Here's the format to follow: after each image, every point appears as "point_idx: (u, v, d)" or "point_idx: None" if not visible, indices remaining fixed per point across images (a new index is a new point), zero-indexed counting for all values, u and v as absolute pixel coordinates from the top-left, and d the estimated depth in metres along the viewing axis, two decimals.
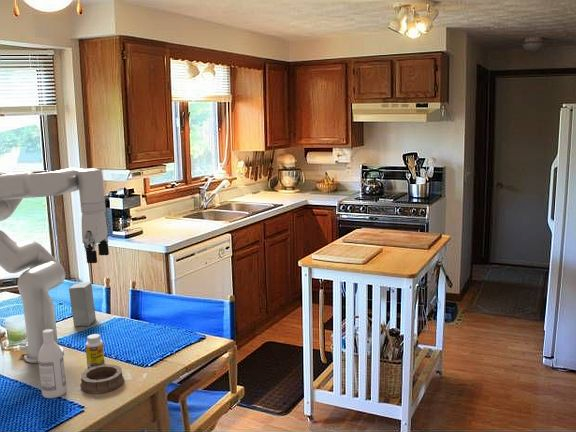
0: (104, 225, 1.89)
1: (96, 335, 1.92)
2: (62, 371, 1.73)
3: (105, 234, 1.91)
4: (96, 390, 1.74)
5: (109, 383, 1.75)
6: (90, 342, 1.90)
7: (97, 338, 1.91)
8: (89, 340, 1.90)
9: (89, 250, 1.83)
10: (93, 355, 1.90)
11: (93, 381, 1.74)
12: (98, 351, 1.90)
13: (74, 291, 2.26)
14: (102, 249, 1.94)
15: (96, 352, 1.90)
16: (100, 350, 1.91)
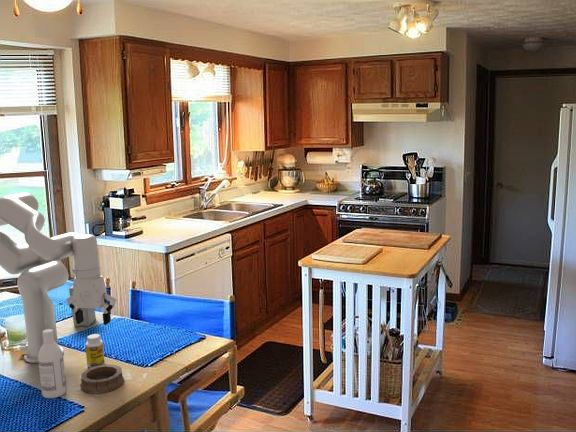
0: None
1: (96, 335, 1.92)
2: (62, 371, 1.73)
3: None
4: (96, 390, 1.74)
5: (109, 383, 1.75)
6: (90, 342, 1.90)
7: (97, 338, 1.91)
8: (89, 340, 1.90)
9: (109, 310, 1.88)
10: (93, 355, 1.90)
11: (93, 381, 1.74)
12: (98, 351, 1.90)
13: None
14: (80, 317, 1.91)
15: (96, 352, 1.90)
16: (100, 350, 1.91)
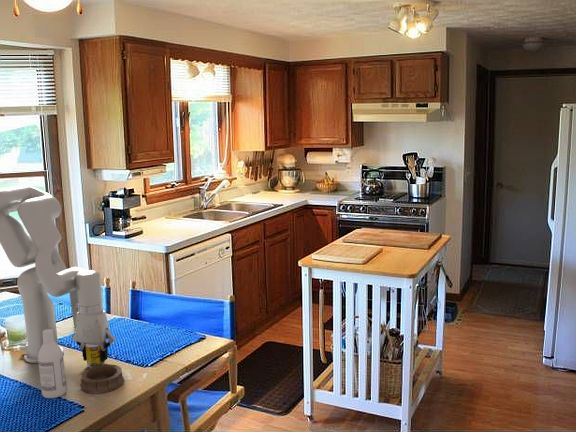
0: None
1: None
2: (62, 371, 1.73)
3: None
4: (96, 390, 1.74)
5: (109, 383, 1.75)
6: None
7: None
8: None
9: (107, 347, 1.91)
10: (93, 355, 1.90)
11: (93, 381, 1.74)
12: (98, 351, 1.90)
13: (74, 291, 2.26)
14: None
15: (96, 352, 1.90)
16: (100, 350, 1.91)
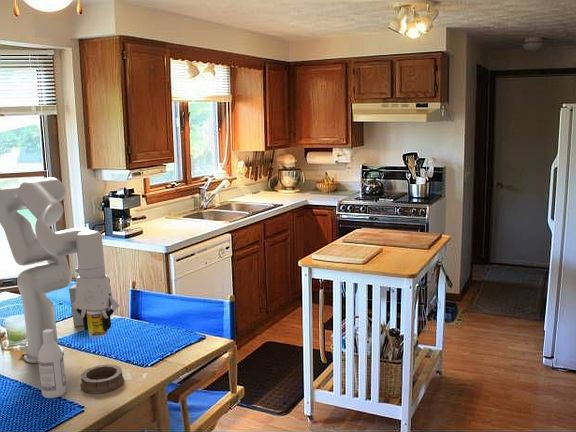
0: None
1: None
2: (62, 371, 1.73)
3: None
4: (96, 390, 1.74)
5: (109, 383, 1.75)
6: None
7: None
8: None
9: (110, 315, 1.76)
10: (96, 323, 1.74)
11: (93, 381, 1.74)
12: (101, 319, 1.75)
13: (74, 291, 2.26)
14: None
15: (98, 320, 1.75)
16: (102, 318, 1.75)
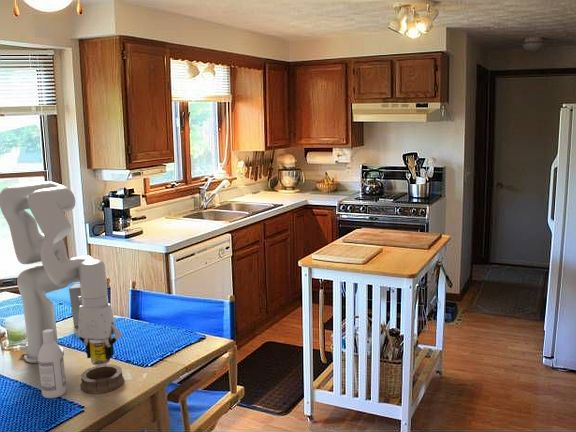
0: None
1: None
2: (62, 371, 1.73)
3: None
4: (96, 390, 1.74)
5: (109, 383, 1.75)
6: None
7: None
8: None
9: None
10: (98, 352, 1.75)
11: (93, 381, 1.74)
12: (103, 347, 1.76)
13: (74, 291, 2.26)
14: None
15: (101, 349, 1.75)
16: (105, 346, 1.76)
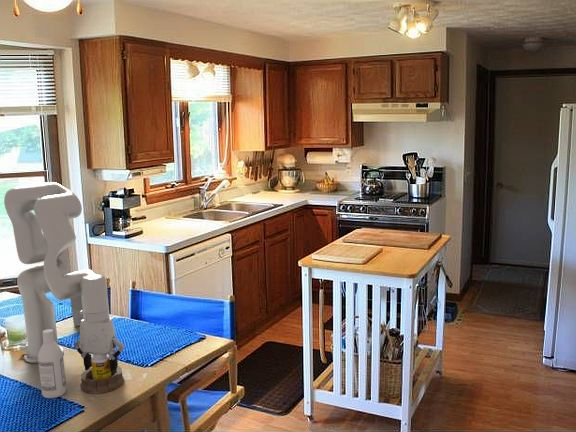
0: None
1: None
2: (62, 371, 1.73)
3: None
4: (96, 390, 1.74)
5: (109, 383, 1.75)
6: (96, 357, 1.77)
7: None
8: (95, 355, 1.77)
9: (117, 356, 1.77)
10: (100, 371, 1.77)
11: (93, 381, 1.74)
12: (105, 367, 1.77)
13: None
14: (88, 362, 1.79)
15: (103, 369, 1.77)
16: (107, 366, 1.77)
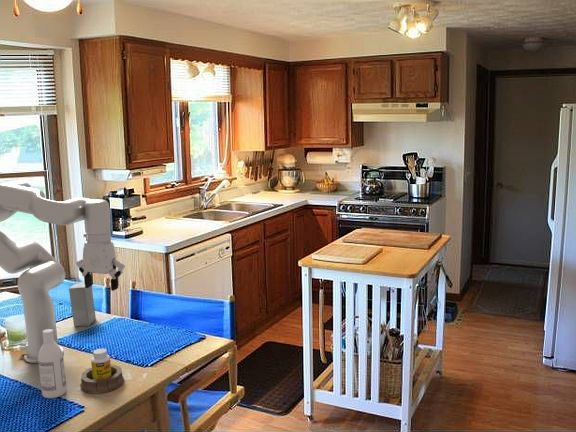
0: None
1: (103, 350, 1.79)
2: (62, 371, 1.73)
3: None
4: (96, 390, 1.74)
5: (109, 383, 1.75)
6: (96, 357, 1.77)
7: (104, 353, 1.77)
8: (95, 355, 1.77)
9: (118, 276, 1.89)
10: (100, 372, 1.77)
11: (93, 381, 1.74)
12: (105, 367, 1.77)
13: (74, 291, 2.26)
14: (89, 281, 1.92)
15: (103, 369, 1.77)
16: (107, 366, 1.77)
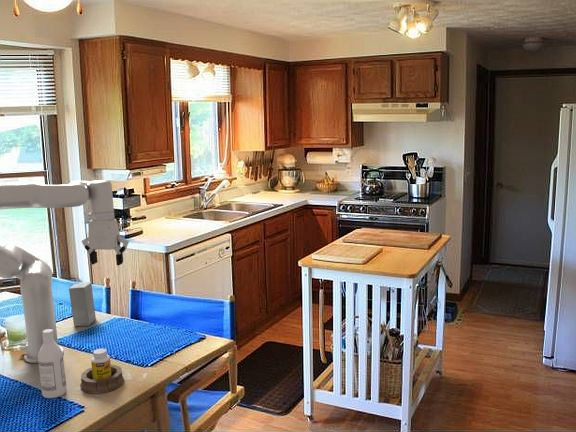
0: None
1: (103, 350, 1.79)
2: (62, 371, 1.73)
3: None
4: (96, 390, 1.74)
5: (109, 383, 1.75)
6: (96, 357, 1.77)
7: (104, 353, 1.77)
8: (95, 355, 1.77)
9: (122, 252, 2.01)
10: (100, 372, 1.77)
11: (93, 381, 1.74)
12: (105, 367, 1.77)
13: (74, 291, 2.26)
14: (94, 258, 2.04)
15: (103, 369, 1.77)
16: (107, 366, 1.77)
